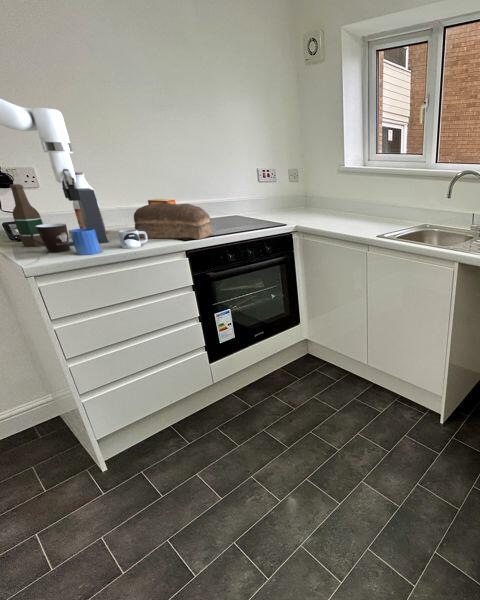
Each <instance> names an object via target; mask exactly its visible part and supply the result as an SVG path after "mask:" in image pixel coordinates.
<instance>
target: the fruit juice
mask: <svg viewBox="0 0 480 600" xmlns="http://www.w3.org/2000/svg"><path fill="white" fill-rule="evenodd" d="M74 173H75V177H76V182H75V185H76V188H77V189H81V188H90V189H92V190H94V192H95V196H96V197H97V195H96V191H95V189H94V187H92V186H91V185H90V184H89V183H88V181H87V180H86V178H85V177H86V176H85V175H86V174H85V172H83V171H82V172H81V171H74ZM97 203H98V206H99V210H100V213H101V217H102V221H103V224H104V228H105V233H106V232H107V229H106V225H105V222H104V218H103V215H102V211H101V207H100V203H99V202H98V200H97ZM72 208H73V210H74V213H75V217H76V221H77V224H78V228H79V229H80V228H86V227H85V223H84V220H83V217H82V213H81V210H80V206H79V203H78V201H72ZM106 234H107V233H106Z"/></svg>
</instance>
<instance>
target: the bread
mask: <svg viewBox="0 0 480 600" xmlns="http://www.w3.org/2000/svg"><path fill="white" fill-rule="evenodd" d="M133 222H134V230H138V231H144V232H146V234H147V238H148V239H170V240H171V239H175V240H176V239H178V240H179V239H180V240H182V239H183V240H201V239H205V238H207V237H210V236H211V235H212V234H213V232H214V230H213V225H212V223H211V216H210V215H209V213H208V212H206V211H205V210H204V209H203V208H202V207H200V206H197V205H193V204H190V203H176V204H171V203H160V204H150V205H149V204H146V205H143V206H141V207H139V208H137V209H136V210H135V211H134V213H133ZM138 235H139V239H141V238H142V239H145V236H144V234H138Z"/></svg>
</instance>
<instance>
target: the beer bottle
mask: <svg viewBox="0 0 480 600" xmlns="http://www.w3.org/2000/svg"><path fill="white" fill-rule="evenodd" d="M9 188H10V189H11V193H12V197H13V200H14V208H13V209H12V218H13V221H14V224H15V226H16V230H17V232H18V235H19V237H20V240H21V243H22V245H23V246H24V247H26V248H37V247H38V248H39V247H46V246H45V245H43V244H40V243H37V242H35V241H34V240H33V239H32V238H31V233H32V232H34V231H38V230H37V228H36V226H37V225H42V224H44V223H43V220H42V217H41V214H40V213H39V211H38V210H37V209H36V208H35V207H33V205H31V203H30V202H29V199H28V197H27V194H26V192H25V190H24V185H23V184H20V183H19V184H17V183H16V184H15V183H13V184H9ZM33 237H34V239H35V240H37V241H39V242H41V243H44V242H43V240H42V238H41V236H40V234H39V233H34V235H33Z"/></svg>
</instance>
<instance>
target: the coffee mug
mask: <svg viewBox="0 0 480 600" xmlns="http://www.w3.org/2000/svg"><path fill="white" fill-rule="evenodd" d="M36 228H37V230H38V231H34V232H32V233H31V238H32V239H33V240H34V241H35V242H37V243H40V244H43V245H45V246H44V247H45V249H46V251H47V252H48V253H51V254H52V253H53V254H55V253H56V254H57V253H65V252H69V251H71V246H70V245H69V239H68V238H69V234H68V228H67V224H66V223H61V222H59V223H43V224H42V225H37V226H36ZM34 233H39V234H40V236H41V238H42V240H43V242H44V243H41V242H39V241H37V240H35V239H34V237H33V235H34Z"/></svg>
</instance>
